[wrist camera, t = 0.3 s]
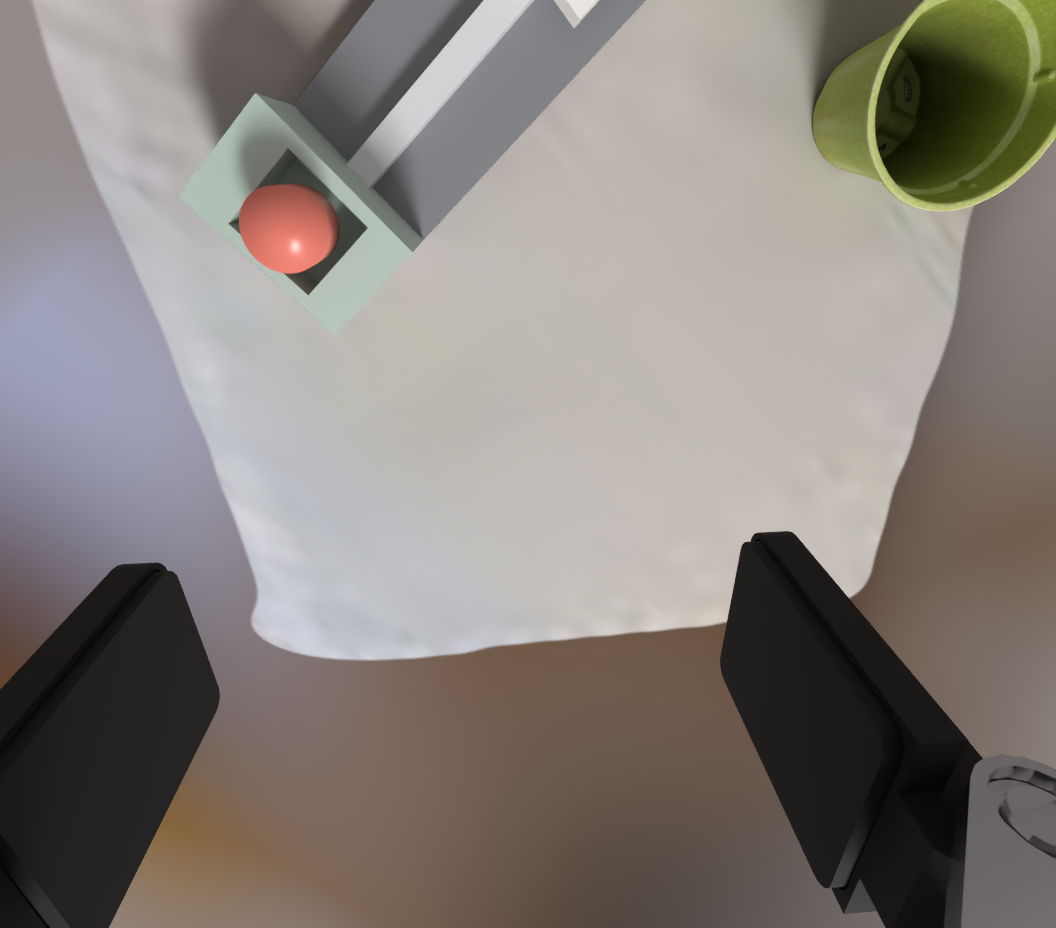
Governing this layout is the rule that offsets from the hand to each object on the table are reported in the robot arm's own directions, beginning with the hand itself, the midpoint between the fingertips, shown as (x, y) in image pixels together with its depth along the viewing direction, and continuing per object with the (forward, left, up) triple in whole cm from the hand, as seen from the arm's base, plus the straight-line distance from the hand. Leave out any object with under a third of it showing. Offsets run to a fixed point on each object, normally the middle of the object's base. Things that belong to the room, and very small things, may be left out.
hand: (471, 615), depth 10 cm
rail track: (-8, -9, -30) cm, 32 cm away
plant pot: (-23, +8, -30) cm, 38 cm away
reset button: (+3, -9, -23) cm, 25 cm away
